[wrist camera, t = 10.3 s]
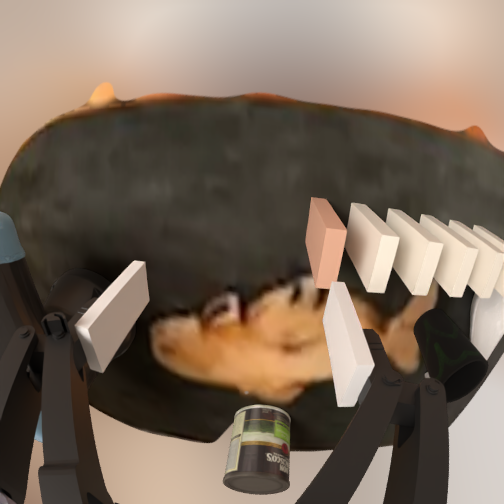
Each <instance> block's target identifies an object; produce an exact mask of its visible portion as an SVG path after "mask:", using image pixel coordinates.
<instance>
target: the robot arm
mask: <svg viewBox="0 0 504 504" xmlns="http://www.w3.org/2000/svg"><path fill="white" fill-rule="evenodd" d="M149 301H150V300H149V292H148V284H147V275H146V265H145V262H142V261H133V262H132V263H131V264H130V265H129V266H128V267H127V268H126V269H125V270H124V271H123V273H122V274H121V275H120V276H119V277H118V278H117V279H116V280H115V281H114V282H113V283H111V282H109V281H108V280H107V279H105V278H104V277H103V276H101V275H99V274H97V273H95V272H93V271H90V270H87V269H82V268H75V269H71V270H68V271H67V272H65V273H64V274H63V275H62V276H60V277H59V278H58V279H57V280H56V281H55V282H54V284H53V286H52V288H51V291H50V294H49V296H48V298H47V299H46V301H45V303H44V305H42V303H41V300H40V298H39V295H38V293H37V290H36V288H35V285H34V282H33V280H32V277H31V274H30V271H29V268H28V265H27V262H26V259H25V251H24V249H23V248H22V247H21V244H20V241H19V238H18V235H17V232H16V229H15V226H14V223H13V221H12V219H11V218H10V217H9V216H8V215H7V214H6V213H3V212H0V504H24V500H25V496H26V490H27V480H28V474H29V466H30V460H31V454H32V448H33V443H34V439H35V440H37V441H39V442H42V443H43V453H44V465H43V466H41V467H40V468H39V470H38V476H39V484H40V490H41V497H42V502H43V504H114V503H113V501H112V498H111V497H110V495H109V493H108V492H107V489H106V486H105V483H104V479H103V475H102V472H101V467H100V464H99V459H98V455H97V450H96V445H95V440H94V434H93V429H92V422H91V417H90V409H89V401H88V393H87V391H88V390H89V388H90V386H91V385H92V383H93V381H94V379H95V378H96V376H97V375H98V373H99V372H101V373H103V372H104V371H105V369H106V367H107V366H108V364H109V363H110V362H111V361H112V360H114V359H115V358H117V357H119V356H121V355H122V354H123V353H125V352H126V350H127V349H128V348H129V346H130V344H131V343H132V341H133V340H134V337H135V334H136V320H137V319H138V317H139V316H140V314H141V313H142V311H143V310H144V308H145V307H146V305H147V304H148V302H149ZM323 325H324V330H325V335H326V340H327V346H328V351H329V357H330V362H331V368H332V373H333V379H334V385H335V391H336V398H337V404H338V407H351V406H354V405H355V403H356V402H357V400H358V401H359V408H358V410H357V412H356V413H355V415H354V417H353V419H352V421H351V422H350V424H349V426H348V428H347V429H346V431H345V433H344V434H343V436H342V438H341V439H340V441H339V442H338V444H337V446H336V447H335V449H334V450H333V452H332V453H331V455H330V456H329V458H328V459H327V461H326V462H325V464H324V465H323V467H322V468H321V470H320V471H319V473H318V474H317V475H316V477H315V478H314V479H313V481H312V482H311V484H310V485H309V486H308V487H307V489H306V490H305V492H304V493H303V494H302V495H301V497H300V498H299V499H298V500H297V502H296V503H295V504H348V502H349V501H350V499H351V497H352V496H353V494H354V492H355V491H356V489H357V487H358V486H359V484H360V482H361V480H362V478H363V476H364V475H365V473H366V471H367V469H368V467H369V465H370V463H371V461H372V459H373V457H374V455H375V453H376V451H377V449H378V447H379V445H380V443H381V441H382V438H383V436H384V434H385V432H386V429H387V427H388V425H389V423H391V424H396V425H395V435H394V443H393V451H392V458H391V465H390V471H389V477H388V482H387V488H386V493H385V497H384V502H383V504H447V493H448V477H449V432H448V414H447V402H446V392H445V388H444V385H443V384H442V383H441V382H440V381H438V380H437V379H434V378H425V379H423V380H422V381H421V383H420V384H414V383H409V382H406V381H404V380H403V377H402V376H401V375H400V374H399V373H398V372H396V371H395V370H392V367H391V365H390V362H389V360H388V357H387V355H386V352H385V350H384V347H383V344H382V342H381V339H380V337H379V335H378V334H377V333H376V332H375V331H374V330H373V329H362V327H361V324H360V322H359V319H358V316H357V314H356V311H355V308H354V306H353V303H352V300H351V298H350V295H349V293H348V290H347V287H346V285H345V282H333V281H332V283H331V287H330V292H329V296H328V300H327V304H326V308H325V312H324V316H323ZM115 504H118V503H115Z"/></svg>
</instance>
